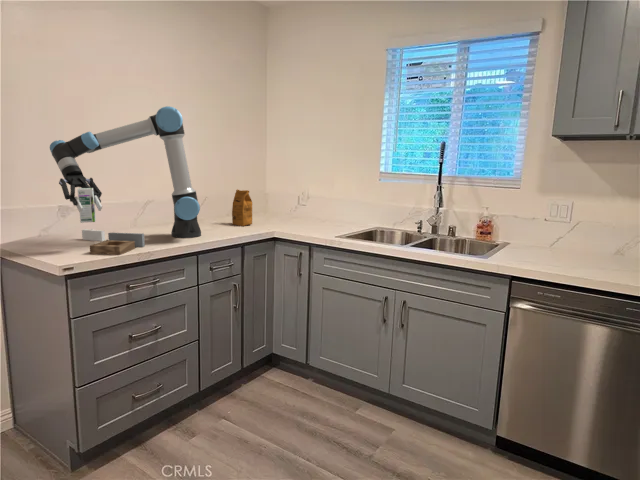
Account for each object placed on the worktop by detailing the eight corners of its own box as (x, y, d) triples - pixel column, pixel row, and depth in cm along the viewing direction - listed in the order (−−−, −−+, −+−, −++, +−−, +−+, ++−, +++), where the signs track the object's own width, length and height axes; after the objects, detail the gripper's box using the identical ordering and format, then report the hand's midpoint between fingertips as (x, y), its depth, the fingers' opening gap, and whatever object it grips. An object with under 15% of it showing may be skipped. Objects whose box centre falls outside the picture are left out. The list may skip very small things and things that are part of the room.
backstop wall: (144, 246, 205) (144, 233, 204) (142, 247, 203) (141, 234, 202) (111, 245, 206) (110, 232, 205) (109, 245, 204) (108, 233, 203)
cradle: (134, 248, 199) (134, 241, 198) (119, 254, 186) (119, 246, 185) (107, 247, 199) (106, 240, 199) (90, 253, 187) (89, 245, 186)
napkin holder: (110, 241, 217) (110, 230, 216) (85, 244, 209) (84, 232, 208) (101, 237, 228) (100, 226, 227) (77, 239, 220) (76, 228, 219)
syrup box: (80, 222, 187) (77, 188, 185) (81, 221, 193) (78, 187, 190) (95, 222, 189) (92, 188, 187) (96, 220, 195) (93, 187, 192)
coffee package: (242, 223, 284) (241, 188, 280) (254, 225, 276) (254, 190, 272) (229, 224, 277) (228, 189, 273) (242, 226, 269) (241, 190, 265)
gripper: (91, 175, 205) (111, 213, 198) (43, 176, 189) (63, 217, 182) (96, 164, 201) (117, 202, 194) (47, 164, 185) (68, 205, 178)
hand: (91, 209), depth 188 cm, fingers closed on syrup box, 7 cm apart
